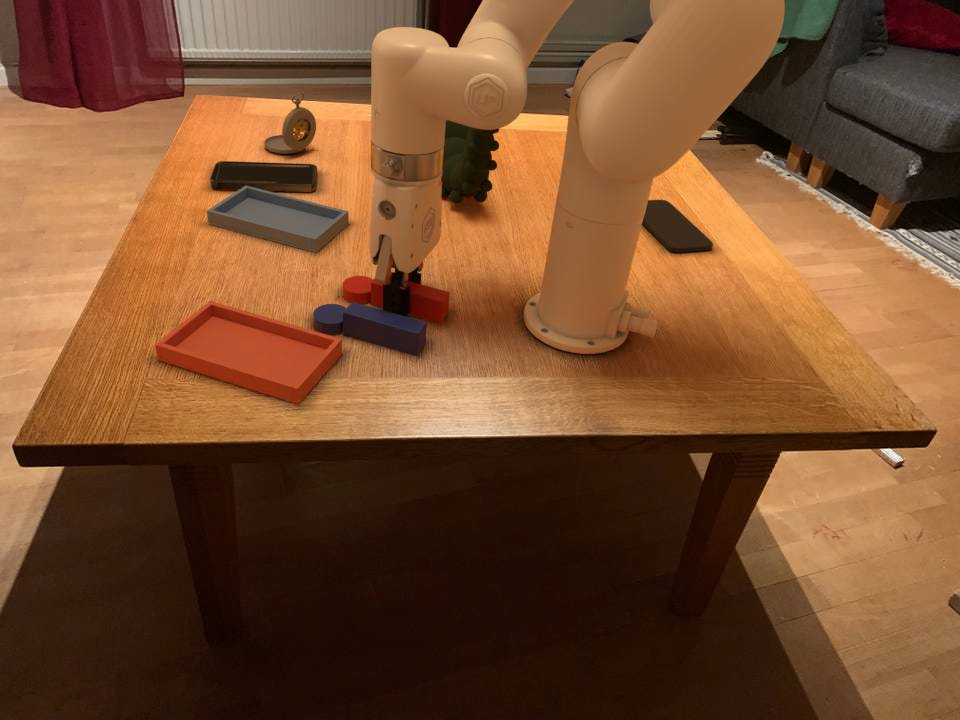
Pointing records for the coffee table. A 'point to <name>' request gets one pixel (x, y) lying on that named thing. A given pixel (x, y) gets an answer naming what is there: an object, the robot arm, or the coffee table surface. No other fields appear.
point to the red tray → (251, 351)
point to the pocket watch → (294, 120)
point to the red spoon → (422, 297)
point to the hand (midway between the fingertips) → (401, 305)
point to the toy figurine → (467, 162)
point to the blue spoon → (372, 326)
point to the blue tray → (279, 218)
